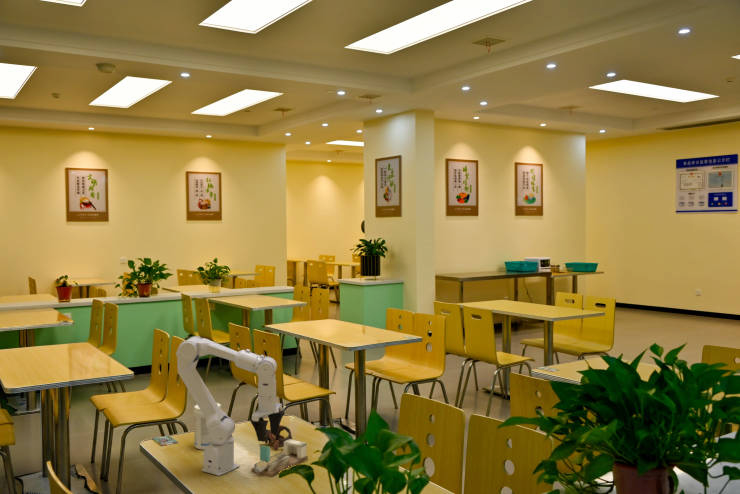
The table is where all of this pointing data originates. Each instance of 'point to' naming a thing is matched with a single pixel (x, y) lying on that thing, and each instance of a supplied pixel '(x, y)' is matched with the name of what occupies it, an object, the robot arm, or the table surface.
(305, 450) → the socket block
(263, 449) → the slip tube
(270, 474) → the channel board
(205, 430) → the supplement tub
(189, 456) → the table surface
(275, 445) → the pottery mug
